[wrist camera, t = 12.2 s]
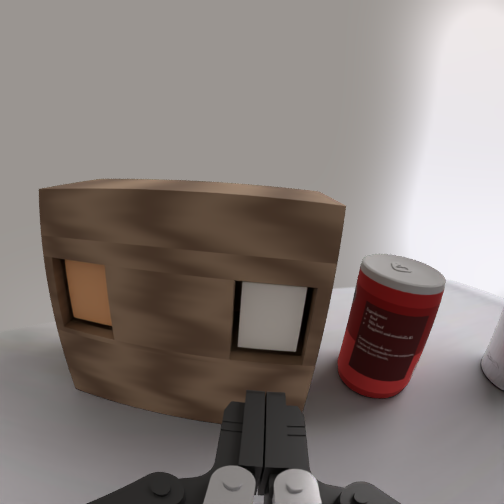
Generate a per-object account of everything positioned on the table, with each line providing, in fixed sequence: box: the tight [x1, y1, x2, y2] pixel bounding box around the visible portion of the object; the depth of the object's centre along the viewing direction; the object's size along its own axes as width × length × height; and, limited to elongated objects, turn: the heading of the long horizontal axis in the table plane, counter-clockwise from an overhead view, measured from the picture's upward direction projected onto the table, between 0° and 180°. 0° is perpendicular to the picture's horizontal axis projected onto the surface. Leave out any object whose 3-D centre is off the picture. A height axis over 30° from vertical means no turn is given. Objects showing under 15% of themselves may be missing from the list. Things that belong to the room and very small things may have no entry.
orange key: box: [65, 259, 112, 326], centre depth 20 cm, size 4×5×4 cm
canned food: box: [338, 254, 446, 398], centre depth 23 cm, size 8×8×11 cm
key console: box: [39, 179, 346, 424], centre depth 20 cm, size 18×8×16 cm, turn 87°
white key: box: [238, 281, 307, 352], centre depth 19 cm, size 4×5×4 cm
